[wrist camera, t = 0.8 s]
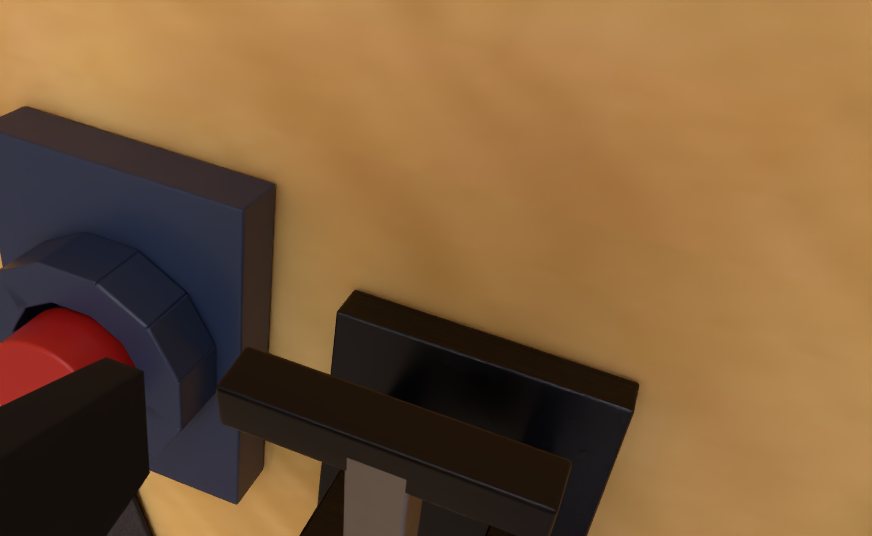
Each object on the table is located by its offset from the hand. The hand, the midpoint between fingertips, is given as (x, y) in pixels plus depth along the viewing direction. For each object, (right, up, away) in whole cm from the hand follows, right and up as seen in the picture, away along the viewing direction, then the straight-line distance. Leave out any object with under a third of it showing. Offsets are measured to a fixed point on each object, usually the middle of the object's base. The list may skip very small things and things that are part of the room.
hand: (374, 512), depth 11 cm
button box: (-8, +2, +15) cm, 17 cm away
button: (-9, +1, +12) cm, 15 cm away
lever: (0, -2, +6) cm, 7 cm away
